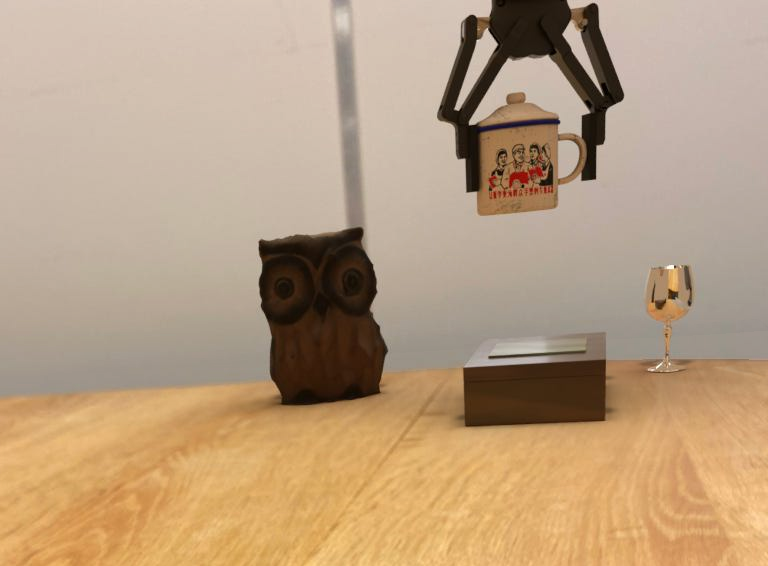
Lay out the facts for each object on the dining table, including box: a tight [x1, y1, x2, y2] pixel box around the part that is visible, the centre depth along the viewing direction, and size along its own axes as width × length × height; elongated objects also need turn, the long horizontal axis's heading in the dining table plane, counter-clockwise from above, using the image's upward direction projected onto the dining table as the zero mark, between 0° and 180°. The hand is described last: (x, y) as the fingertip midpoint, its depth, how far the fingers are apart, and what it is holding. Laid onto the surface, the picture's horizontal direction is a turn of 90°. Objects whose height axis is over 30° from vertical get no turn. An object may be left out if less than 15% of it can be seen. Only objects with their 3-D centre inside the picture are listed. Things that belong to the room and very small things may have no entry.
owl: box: [258, 226, 389, 406], centre depth 132 cm, size 13×13×20 cm
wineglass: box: [643, 264, 696, 373], centre depth 129 cm, size 6×6×12 cm
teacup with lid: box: [475, 91, 587, 217], centre depth 114 cm, size 12×9×12 cm
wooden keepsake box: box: [462, 331, 607, 427], centre depth 117 cm, size 22×14×6 cm, turn 165°
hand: (530, 186), depth 115 cm, fingers closed on teacup with lid, 12 cm apart
